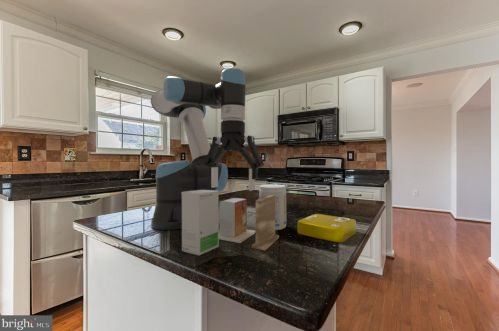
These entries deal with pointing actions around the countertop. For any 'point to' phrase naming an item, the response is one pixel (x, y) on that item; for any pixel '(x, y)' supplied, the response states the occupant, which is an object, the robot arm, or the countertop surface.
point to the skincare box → (200, 221)
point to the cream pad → (238, 236)
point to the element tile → (327, 227)
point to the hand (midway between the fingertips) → (232, 188)
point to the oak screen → (265, 223)
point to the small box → (233, 217)
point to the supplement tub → (276, 202)
